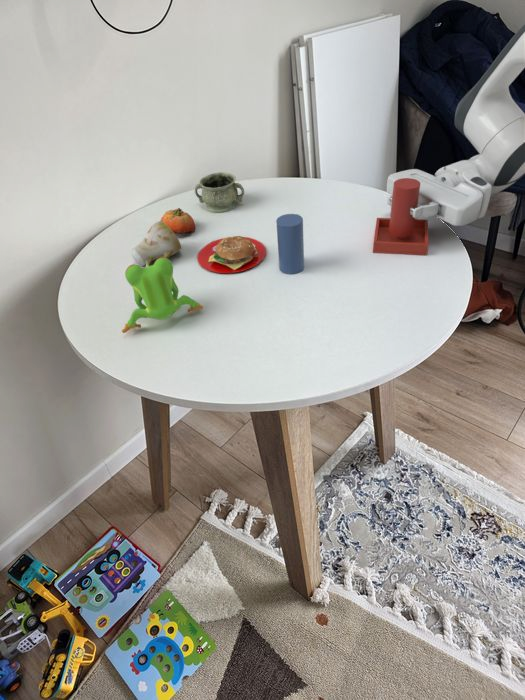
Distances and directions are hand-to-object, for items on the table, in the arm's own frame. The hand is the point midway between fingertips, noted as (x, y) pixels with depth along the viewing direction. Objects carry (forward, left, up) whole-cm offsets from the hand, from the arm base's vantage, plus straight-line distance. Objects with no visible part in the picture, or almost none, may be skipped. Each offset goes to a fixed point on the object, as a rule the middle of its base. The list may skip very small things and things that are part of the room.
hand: (400, 207), depth 93 cm
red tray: (-1, -1, -7) cm, 8 cm away
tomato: (+47, -1, -8) cm, 48 cm away
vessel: (+41, -14, -8) cm, 44 cm away
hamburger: (+32, +8, -8) cm, 34 cm away
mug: (+47, +11, -8) cm, 49 cm away
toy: (+39, +29, -8) cm, 50 cm away
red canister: (-1, -1, -5) cm, 6 cm away
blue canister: (+19, +11, -7) cm, 24 cm away
